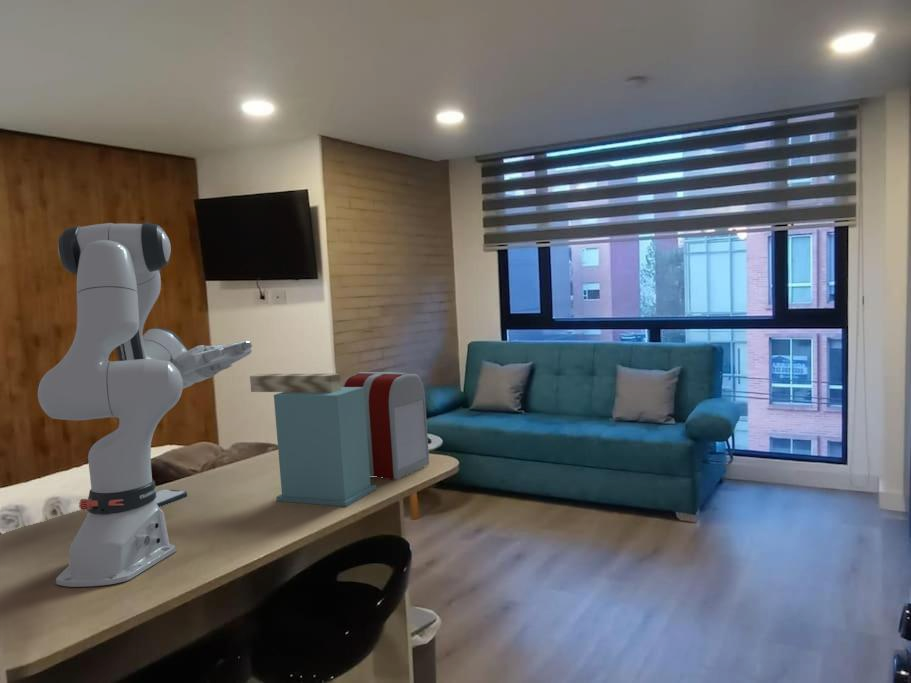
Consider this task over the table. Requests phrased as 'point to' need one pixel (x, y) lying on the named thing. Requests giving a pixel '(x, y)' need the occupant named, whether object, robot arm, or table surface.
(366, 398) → the red striped toaster
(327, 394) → the tall teal upright box
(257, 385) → the rail
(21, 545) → the table surface
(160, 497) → the phone case
